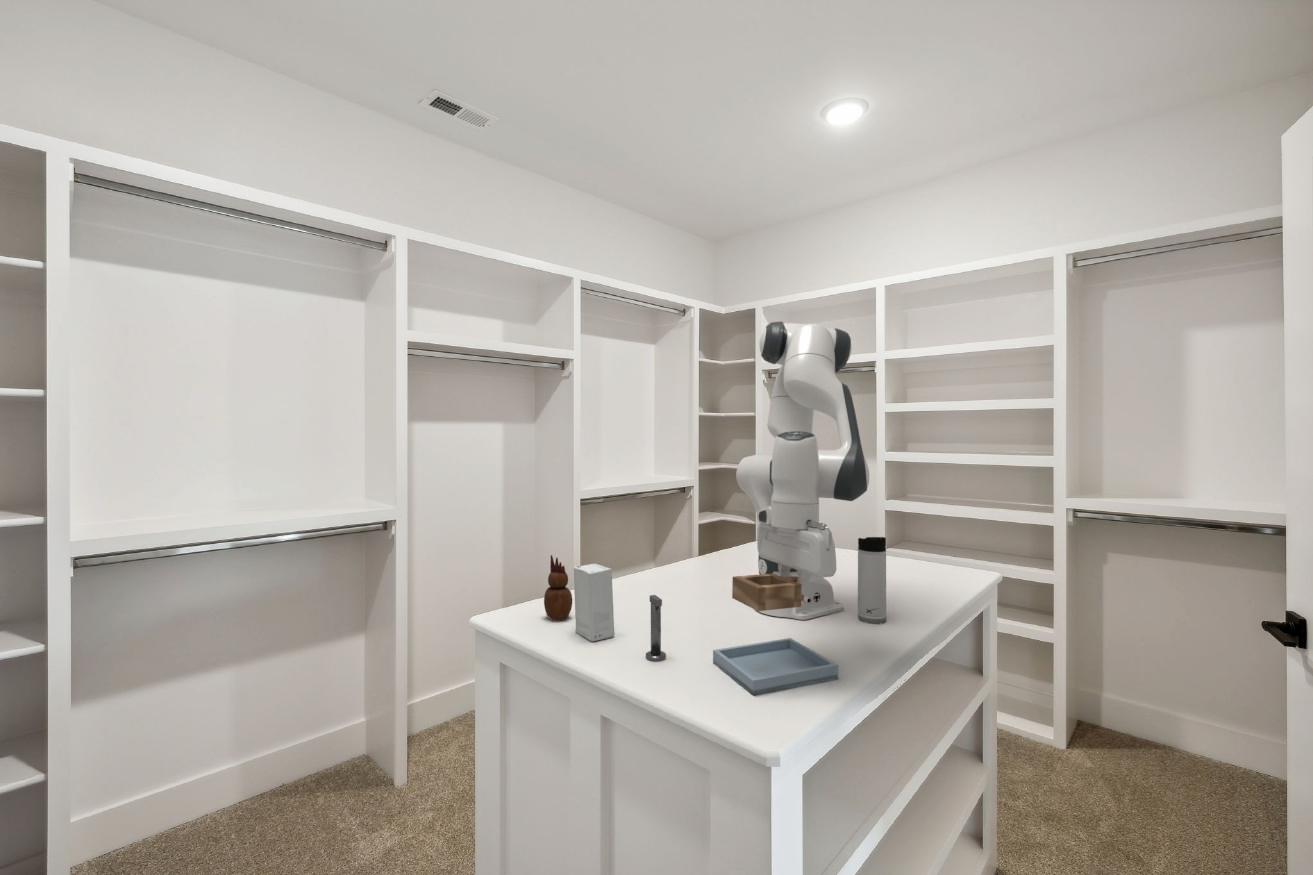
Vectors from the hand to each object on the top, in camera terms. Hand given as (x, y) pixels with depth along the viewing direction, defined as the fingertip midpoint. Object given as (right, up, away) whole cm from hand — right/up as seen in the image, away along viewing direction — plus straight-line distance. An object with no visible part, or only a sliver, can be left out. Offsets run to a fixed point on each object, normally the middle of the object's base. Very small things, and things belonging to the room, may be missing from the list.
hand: (793, 591), depth 106 cm
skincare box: (-40, -15, +18) cm, 46 cm away
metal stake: (-26, -15, +5) cm, 30 cm away
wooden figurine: (-49, -15, +29) cm, 59 cm away
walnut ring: (-4, -1, -2) cm, 5 cm away
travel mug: (+25, -15, +28) cm, 40 cm away
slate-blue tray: (-4, -15, -1) cm, 15 cm away
